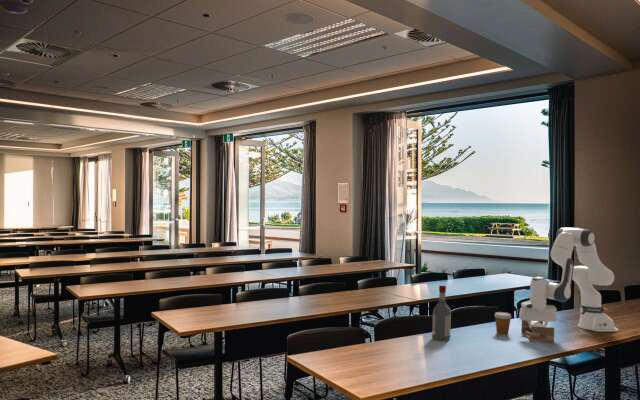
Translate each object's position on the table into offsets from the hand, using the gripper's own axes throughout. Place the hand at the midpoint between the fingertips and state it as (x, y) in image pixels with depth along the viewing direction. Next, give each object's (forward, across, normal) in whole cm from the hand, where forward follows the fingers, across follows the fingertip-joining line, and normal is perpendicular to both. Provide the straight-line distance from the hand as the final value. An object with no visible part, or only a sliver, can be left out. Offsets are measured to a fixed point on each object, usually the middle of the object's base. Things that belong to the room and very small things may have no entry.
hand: (537, 328), depth 286 cm
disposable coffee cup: (+6, +18, -6) cm, 20 cm away
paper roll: (-1, 0, 0) cm, 1 cm away
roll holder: (+5, 0, 0) cm, 5 cm away
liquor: (+6, +57, +12) cm, 59 cm away
